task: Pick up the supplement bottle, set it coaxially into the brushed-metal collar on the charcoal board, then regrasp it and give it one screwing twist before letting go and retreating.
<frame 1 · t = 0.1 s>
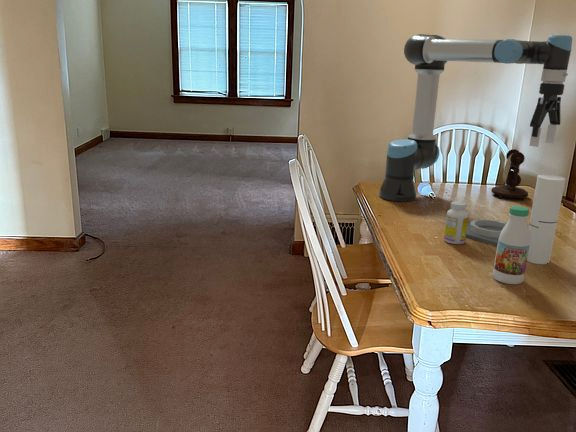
hand: (541, 144, 187), 28 cm above the table, fingers open, 13 cm apart
supplement bottle: (454, 242, 169), on the table
cylindrical container: (536, 260, 156), on the table
milk bottle: (507, 279, 141), on the table
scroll: (508, 196, 227), on the table
collar board: (490, 233, 178), on the table
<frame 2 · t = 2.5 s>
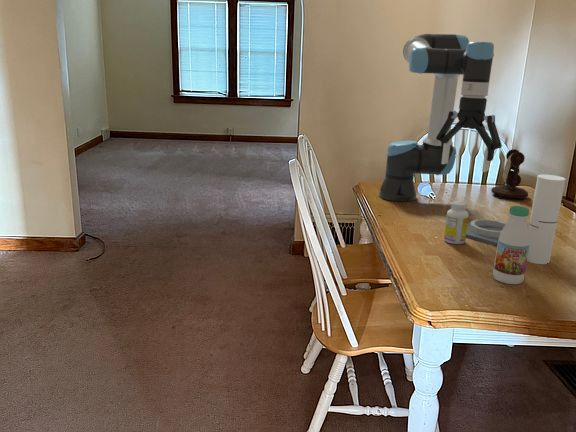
hand: (464, 167, 162), 24 cm above the table, fingers open, 13 cm apart
nothing on the table moved.
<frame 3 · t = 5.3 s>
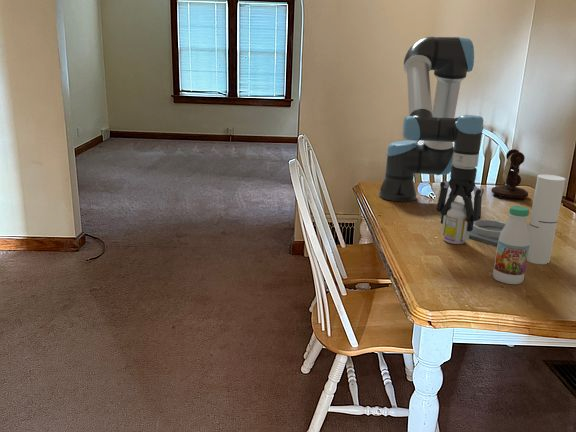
hand: (454, 236, 169), 2 cm above the table, fingers closed on supplement bottle, 7 cm apart
supplement bottle: (454, 241, 169), on the table, touching gripper
everything else where it was.
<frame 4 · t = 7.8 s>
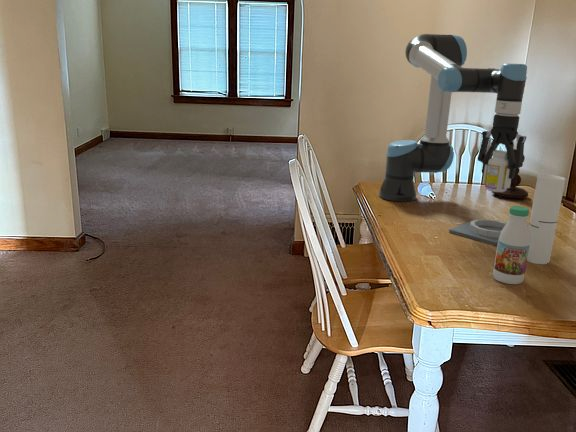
hand: (495, 185, 172), 17 cm above the table, fingers closed on supplement bottle, 7 cm apart
supplement bottle: (495, 190, 173), point 15 cm above the table, touching gripper
everything else where it was.
when the fingers open (4 cm above the table, at t = 10.7 s): supplement bottle drops 1 cm, resting on collar board.
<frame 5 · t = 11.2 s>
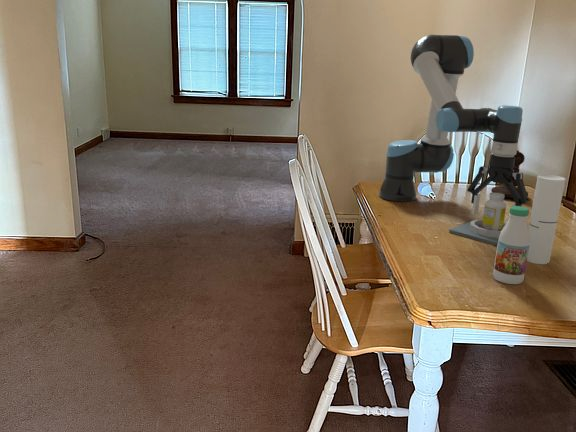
hand: (493, 218, 176), 6 cm above the table, fingers open, 13 cm apart
supplement bottle: (491, 231, 177), point 1 cm above the table, touching collar board
everything else where it was.
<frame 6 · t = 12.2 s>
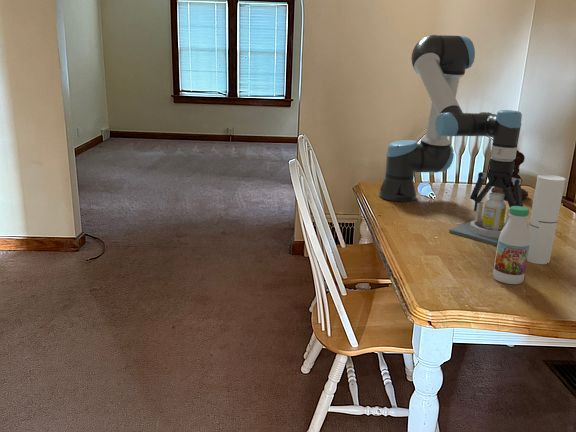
hand: (492, 224, 177), 3 cm above the table, fingers closed on collar board, 10 cm apart
nothing on the table moved.
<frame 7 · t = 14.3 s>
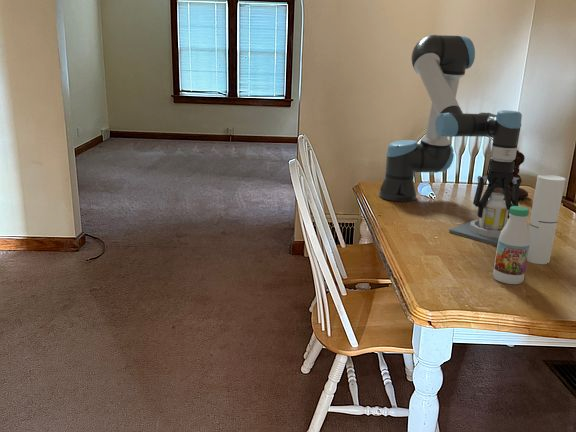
hand: (492, 226, 177), 2 cm above the table, fingers closed on supplement bottle, 7 cm apart
supplement bottle: (491, 231, 177), point 1 cm above the table, touching collar board, gripper
everything else where it was.
when the fingers open (3 cm above the table, at t = 15.1 s): supplement bottle stays where it is, resting on collar board.
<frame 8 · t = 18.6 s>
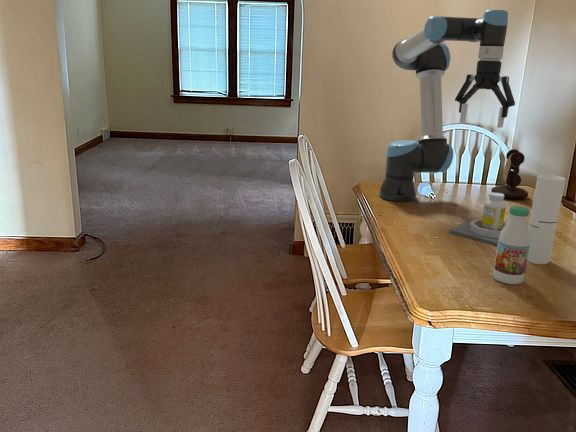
hand: (480, 125, 179), 35 cm above the table, fingers open, 13 cm apart
supplement bottle: (491, 231, 177), point 1 cm above the table, touching collar board
everything else where it was.
at the end: supplement bottle 0.1 cm off-centre on the collar board, point 0.8 cm above the collar board's base; supplement bottle tilted 0°; the gripper is holding nothing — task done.
